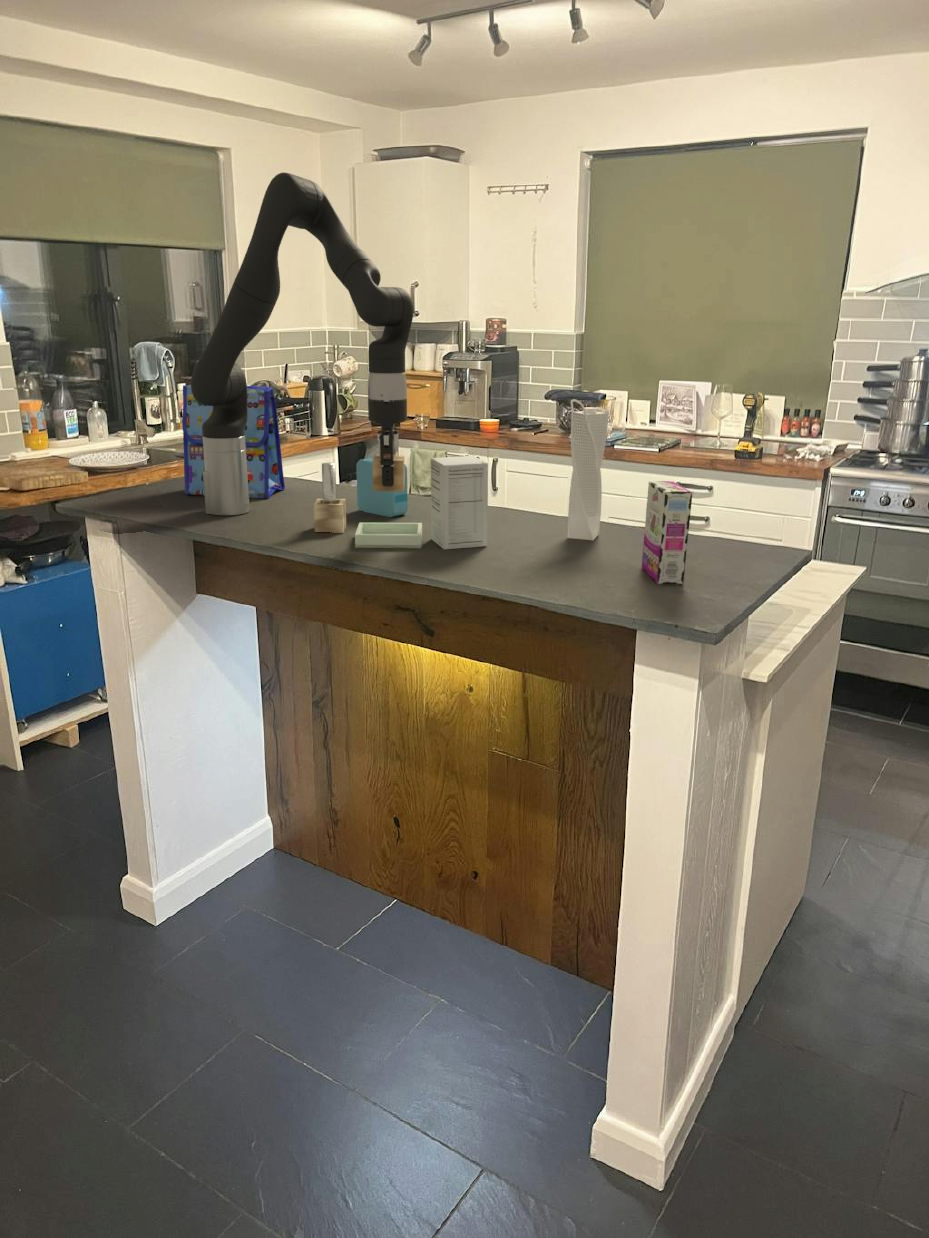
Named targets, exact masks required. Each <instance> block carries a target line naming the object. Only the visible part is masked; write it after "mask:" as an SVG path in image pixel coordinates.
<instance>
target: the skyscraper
mask: <svg viewBox="0 0 929 1238" xmlns="http://www.w3.org/2000/svg"><path fill="white" fill-rule="evenodd" d="M574 402H575V403H577V404H578V405H580V407H581V408H582V411H575V410H574ZM570 408H571V409H570V410H571V417H570V418H571V419H570V420H571V421H570V452H571V453H570V455H571V465H572V473H571V479H570V480H571V481H570V487H569V496H568V500H569V501H568V511H567V512H568V513H567V515H568V516H567V539H574V540H575V539H576V540H586V541H594V540H595V539H596V538H597V536H599V535H600V528H601V527H600V526H601V516H602V498H603V497H602V496H603V495H602V493H603V492H602V490H603V489H602V488H603V487H602V470H601V467H602V463H603V459H604V455H605V454H604V453H605V449H606V443H607V435H608V425H609V411H608V410H607V409H606V408H603V407H599V406H595V407H591V406H590V407H585V405H584V404H583V403H582V402H581V401H580V400H578V399H574V398H573V399H571V400H570ZM598 410H599V411H598Z"/></svg>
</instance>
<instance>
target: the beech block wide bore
mask: <svg viewBox="0 0 929 1238" xmlns="http://www.w3.org/2000/svg"><path fill="white" fill-rule="evenodd" d="M336 500H337V504H323V498H317V499H315V502H314V503H313V520H314V522H313V523H314V533H315V532H330V533H329V534H344V533H345V531H344V530H346V527H347V514H346V513H347V511H346V498H336ZM331 532H332V533H331Z"/></svg>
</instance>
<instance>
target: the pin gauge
mask: <svg viewBox="0 0 929 1238" xmlns="http://www.w3.org/2000/svg"><path fill="white" fill-rule="evenodd" d="M336 474H337V473H336V463H335V462H322V463H321V482H322V499H323V504H337V500H336V499H337V479H336V478H337V475H336Z"/></svg>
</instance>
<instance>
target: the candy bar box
mask: <svg viewBox="0 0 929 1238" xmlns="http://www.w3.org/2000/svg"><path fill="white" fill-rule="evenodd" d="M647 488H648V489H647V500H646V501H647V502H646V508H645V510H646V511H645V523H644V525H645V526H644V534H643V535H644V537H643V548H642V557H641V558H642V559H641V561H642V562H641V570H643V571H644V573H646V575H647V576H648V577H649V578H651V579H652V580H653V581H654V582H655V583H656V584H657V585H661V586H663V585H664V586H665V585H667V586H668V585H669V586H671V585H672V586H674V585H677V586H678V585H679V584H682V585H684V581H685V571H686V560H687V551H688V541H689V540H688V539H689V534H690V533H689V531H690V521H691V514H692V513H691V512H692V501H693V494H694V493H693V492H692V491H690V489H687V488H685V487H683V486H682V485H681V484H678V483H676V482H675V481H669V480H667V481H665V480H661V481H659V480H658V481H657V480H656V481H655V480H654V481H650V480H649V481H648V486H647ZM679 586H680V585H679Z"/></svg>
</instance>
